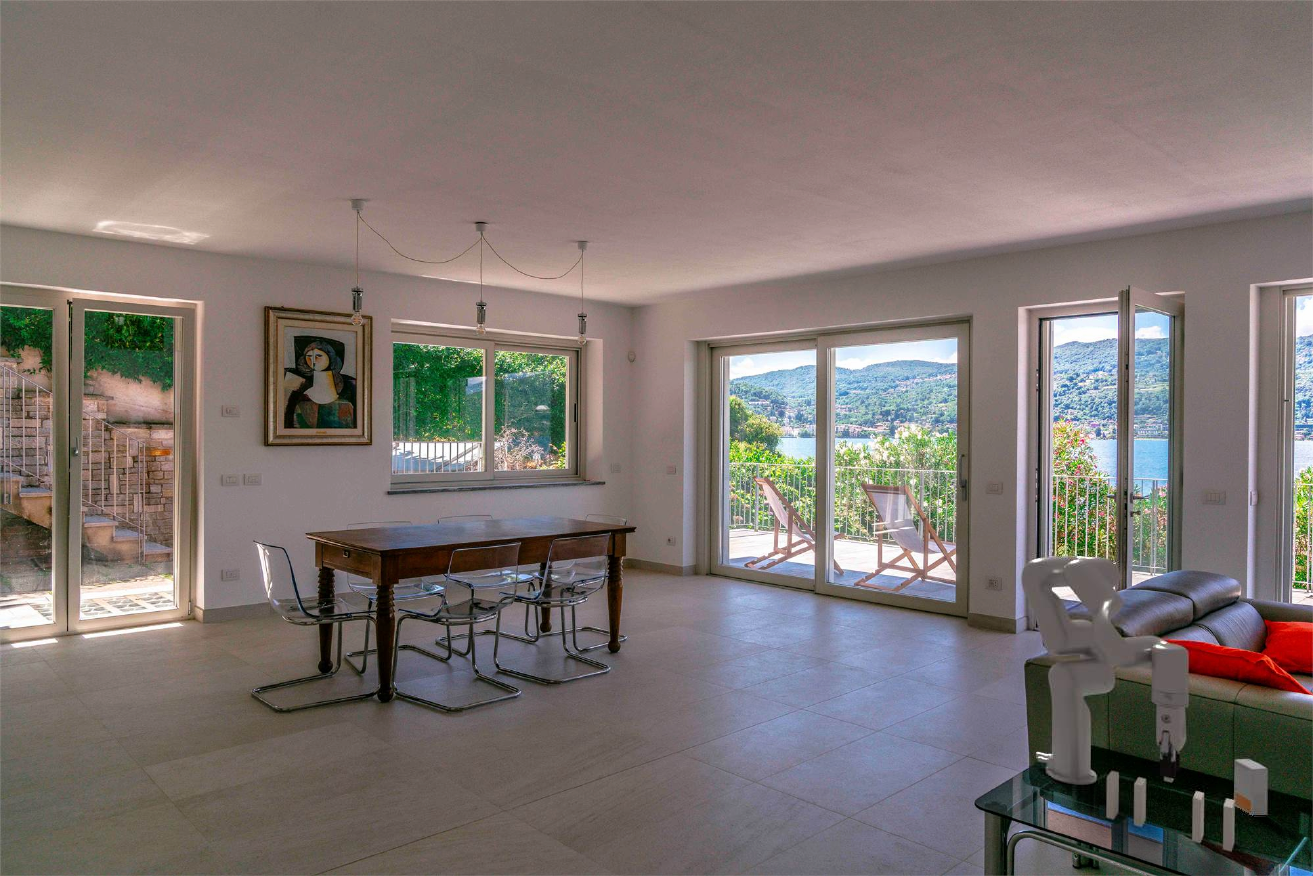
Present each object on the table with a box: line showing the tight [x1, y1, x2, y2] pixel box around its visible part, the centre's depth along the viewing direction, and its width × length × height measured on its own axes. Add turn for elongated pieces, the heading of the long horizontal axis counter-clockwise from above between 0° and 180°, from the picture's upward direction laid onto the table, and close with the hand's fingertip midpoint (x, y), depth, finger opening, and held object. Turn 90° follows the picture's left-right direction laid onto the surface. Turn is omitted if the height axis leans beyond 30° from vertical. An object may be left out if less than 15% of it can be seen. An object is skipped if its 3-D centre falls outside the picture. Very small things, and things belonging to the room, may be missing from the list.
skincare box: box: [1233, 758, 1269, 817], centre depth 211 cm, size 6×4×12 cm
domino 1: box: [1105, 770, 1120, 820], centre depth 209 cm, size 2×5×10 cm, turn 140°
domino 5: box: [1222, 798, 1236, 853], centre depth 194 cm, size 2×5×10 cm, turn 140°
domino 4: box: [1191, 790, 1205, 844], centre depth 197 cm, size 2×5×10 cm, turn 140°
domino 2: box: [1133, 776, 1147, 828], centre depth 205 cm, size 2×5×10 cm, turn 140°
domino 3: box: [1163, 745, 1176, 783], centre depth 201 cm, size 2×5×10 cm, turn 140°
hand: (1169, 772), depth 201 cm, fingers closed on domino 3, 4 cm apart
